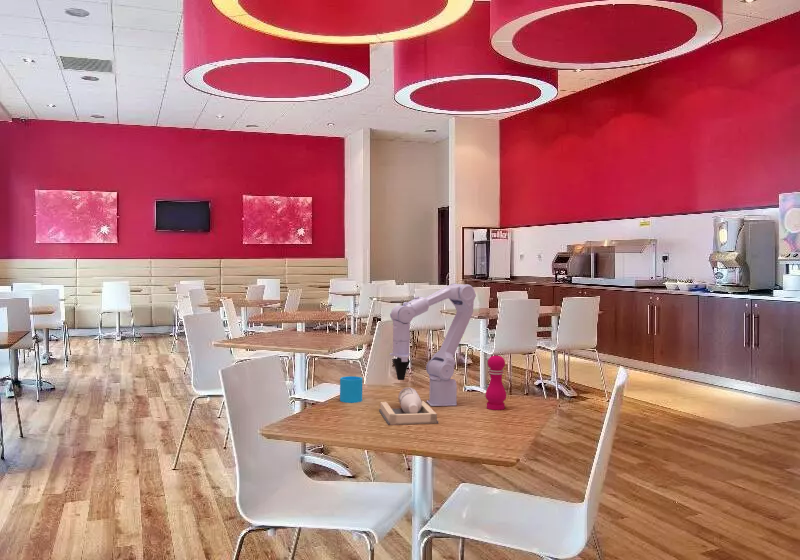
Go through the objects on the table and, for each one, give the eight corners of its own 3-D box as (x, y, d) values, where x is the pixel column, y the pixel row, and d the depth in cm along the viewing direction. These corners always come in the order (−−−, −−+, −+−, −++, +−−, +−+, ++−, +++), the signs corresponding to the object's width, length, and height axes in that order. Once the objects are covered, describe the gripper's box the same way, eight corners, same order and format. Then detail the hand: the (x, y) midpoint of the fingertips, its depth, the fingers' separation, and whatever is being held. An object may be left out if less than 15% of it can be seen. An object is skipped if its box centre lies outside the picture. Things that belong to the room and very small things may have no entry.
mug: (359, 403, 244) (360, 380, 244) (337, 402, 245) (337, 379, 245) (366, 396, 256) (366, 375, 256) (344, 395, 257) (345, 374, 257)
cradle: (425, 409, 235) (425, 400, 235) (438, 423, 215) (438, 413, 215) (378, 410, 232) (379, 402, 232) (388, 425, 212) (388, 415, 212)
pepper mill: (505, 406, 241) (506, 349, 241) (506, 410, 234) (507, 352, 234) (484, 405, 242) (485, 349, 242) (485, 410, 235) (486, 352, 234)
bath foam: (394, 400, 235) (398, 414, 216) (404, 383, 236) (409, 394, 216) (412, 410, 236) (417, 424, 216) (421, 392, 236) (428, 405, 216)
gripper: (386, 338, 242) (386, 376, 243) (393, 343, 228) (392, 383, 228) (406, 338, 243) (405, 375, 244) (414, 343, 229) (413, 383, 229)
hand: (400, 379), depth 236 cm, fingers closed
